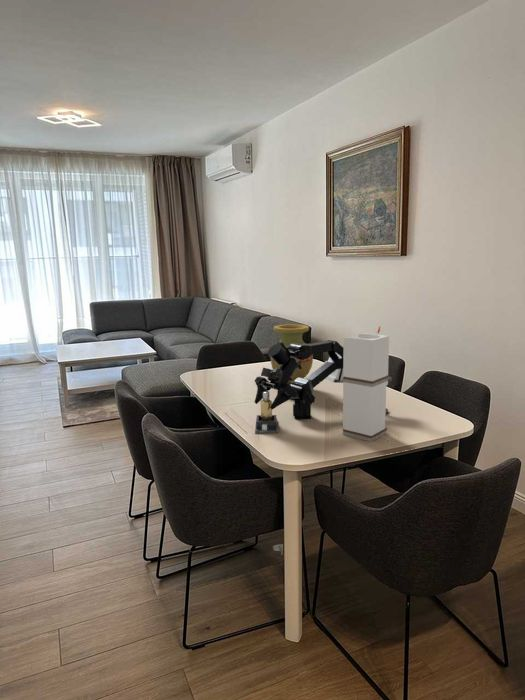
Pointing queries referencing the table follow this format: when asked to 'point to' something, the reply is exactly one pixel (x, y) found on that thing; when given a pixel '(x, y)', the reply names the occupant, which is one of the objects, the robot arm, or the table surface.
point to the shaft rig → (266, 425)
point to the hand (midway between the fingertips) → (263, 405)
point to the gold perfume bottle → (266, 407)
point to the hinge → (335, 375)
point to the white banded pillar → (365, 386)
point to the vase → (288, 337)
